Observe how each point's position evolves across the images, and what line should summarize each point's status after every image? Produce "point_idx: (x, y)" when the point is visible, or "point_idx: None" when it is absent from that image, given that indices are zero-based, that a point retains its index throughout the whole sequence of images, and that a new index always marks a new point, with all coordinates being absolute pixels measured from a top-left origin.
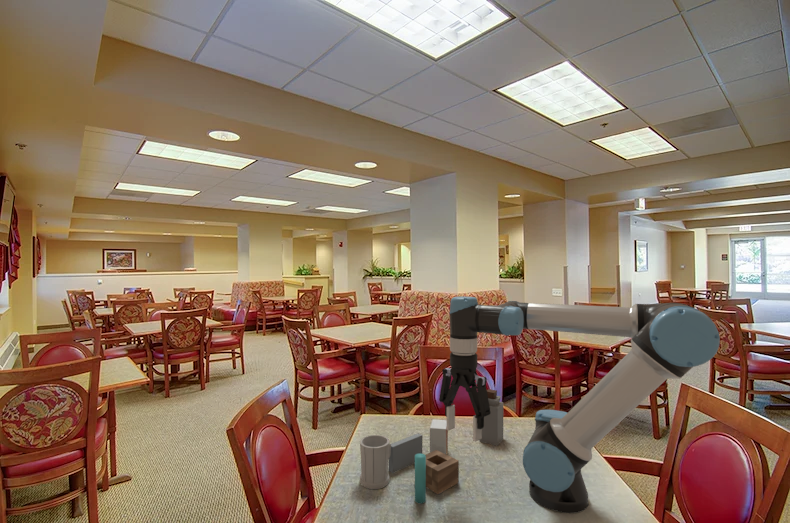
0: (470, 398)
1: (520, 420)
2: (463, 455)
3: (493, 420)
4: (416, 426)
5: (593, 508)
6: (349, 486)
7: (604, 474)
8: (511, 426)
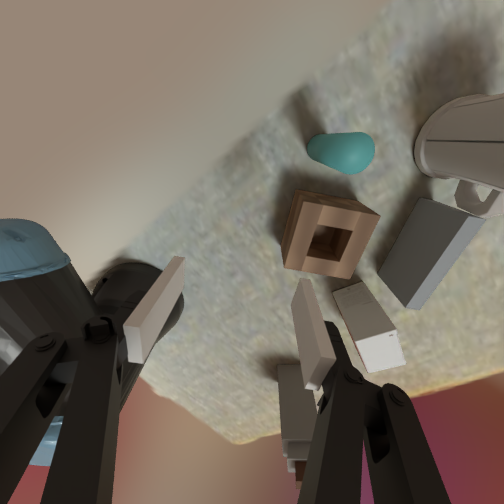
0: (93, 461)
1: (279, 426)
2: None
3: (287, 407)
4: (433, 358)
5: None
6: None
7: None
8: None
